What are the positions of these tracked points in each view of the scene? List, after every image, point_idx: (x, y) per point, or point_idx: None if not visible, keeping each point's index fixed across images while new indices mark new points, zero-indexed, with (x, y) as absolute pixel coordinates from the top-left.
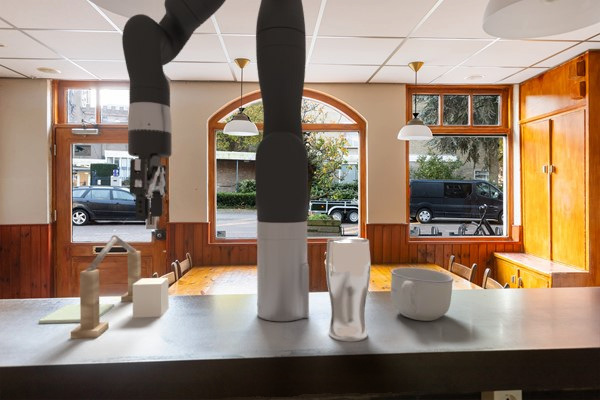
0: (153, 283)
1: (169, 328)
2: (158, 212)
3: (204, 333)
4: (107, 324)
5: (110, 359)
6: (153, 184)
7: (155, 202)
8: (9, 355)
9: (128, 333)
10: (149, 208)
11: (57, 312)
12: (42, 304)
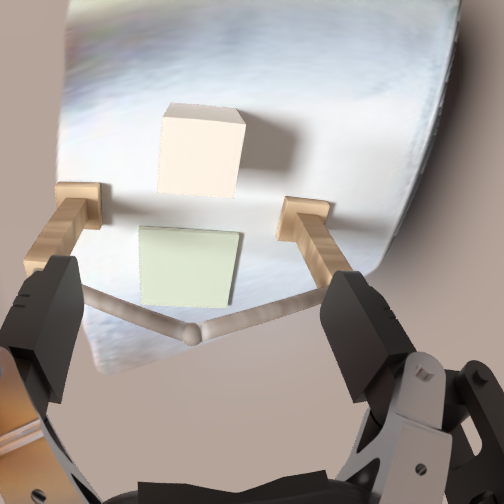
0: (234, 146)
1: (320, 86)
2: (71, 287)
3: (365, 28)
4: (291, 200)
5: (412, 164)
6: (434, 431)
7: (58, 355)
8: None
9: (323, 156)
10: (364, 305)
11: (186, 301)
12: (122, 336)
